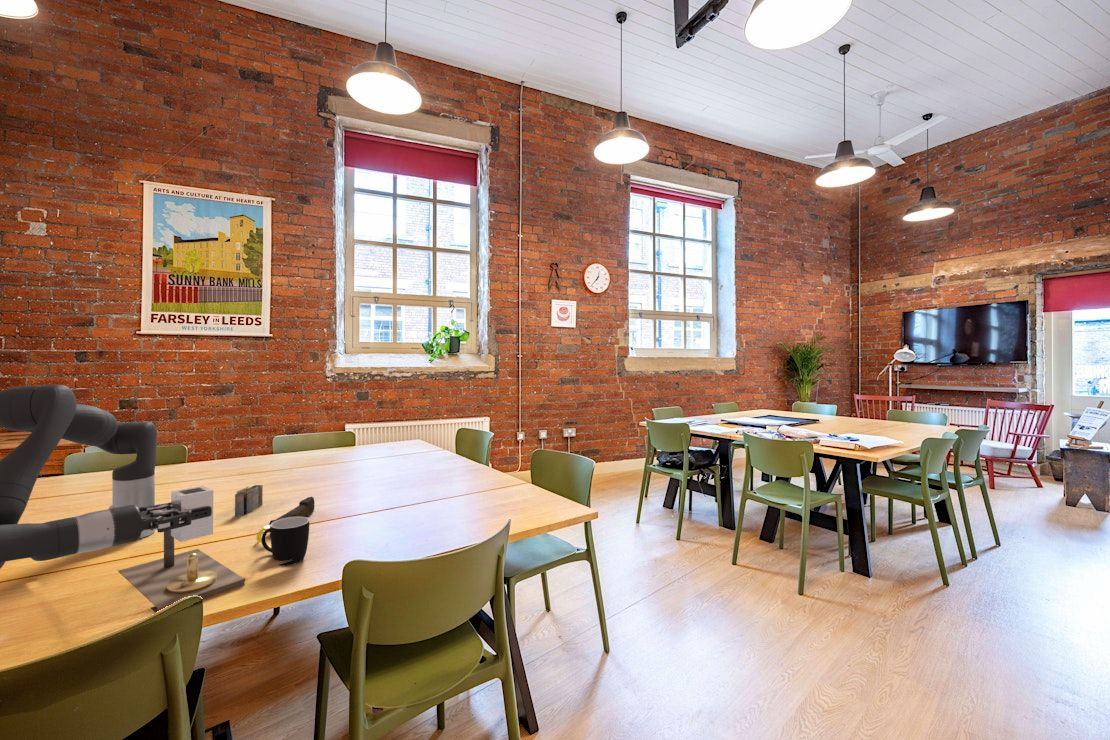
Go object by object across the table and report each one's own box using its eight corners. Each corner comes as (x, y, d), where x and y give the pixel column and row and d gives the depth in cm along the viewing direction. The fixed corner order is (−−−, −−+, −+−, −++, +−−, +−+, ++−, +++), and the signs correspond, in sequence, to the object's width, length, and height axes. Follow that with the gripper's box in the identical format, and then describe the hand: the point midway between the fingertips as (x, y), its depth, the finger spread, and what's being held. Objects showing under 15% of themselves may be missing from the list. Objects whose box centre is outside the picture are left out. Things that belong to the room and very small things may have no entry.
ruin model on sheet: (244, 517, 155) (244, 488, 155) (234, 517, 155) (235, 488, 155) (263, 506, 167) (263, 479, 166) (254, 506, 167) (255, 479, 166)
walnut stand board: (117, 576, 112) (117, 533, 112) (197, 554, 125) (197, 515, 125) (158, 615, 96) (157, 564, 96) (244, 585, 110) (244, 540, 109)
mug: (316, 553, 127) (316, 517, 127) (296, 568, 118) (296, 529, 118) (273, 552, 128) (273, 515, 128) (250, 566, 119) (250, 527, 119)
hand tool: (283, 535, 140) (283, 517, 140) (267, 535, 140) (267, 516, 140) (323, 511, 163) (323, 495, 162) (309, 510, 163) (310, 494, 163)
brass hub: (158, 596, 101) (158, 564, 101) (177, 577, 109) (177, 547, 109) (208, 590, 104) (208, 559, 104) (222, 572, 112) (222, 543, 112)
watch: (254, 549, 130) (254, 527, 129) (261, 545, 132) (261, 524, 132) (275, 550, 129) (275, 528, 129) (281, 546, 132) (281, 525, 132)
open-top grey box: (180, 542, 102) (181, 496, 102) (171, 535, 105) (171, 491, 105) (213, 533, 107) (213, 490, 107) (202, 528, 110) (202, 485, 110)
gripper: (117, 517, 90) (218, 497, 104) (97, 503, 98) (193, 486, 112) (117, 556, 90) (218, 531, 104) (97, 538, 98) (193, 517, 112)
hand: (204, 508), depth 108 cm, fingers closed on open-top grey box, 6 cm apart
